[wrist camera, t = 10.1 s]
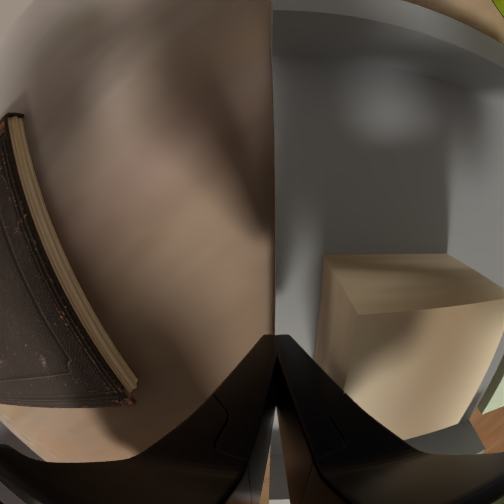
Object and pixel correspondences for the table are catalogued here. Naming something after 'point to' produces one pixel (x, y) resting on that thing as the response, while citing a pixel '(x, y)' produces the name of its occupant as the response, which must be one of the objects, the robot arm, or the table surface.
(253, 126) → the table surface
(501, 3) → the soap dispenser
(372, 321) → the beech block
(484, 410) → the panel
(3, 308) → the hardcover book
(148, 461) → the robot arm
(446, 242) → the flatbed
